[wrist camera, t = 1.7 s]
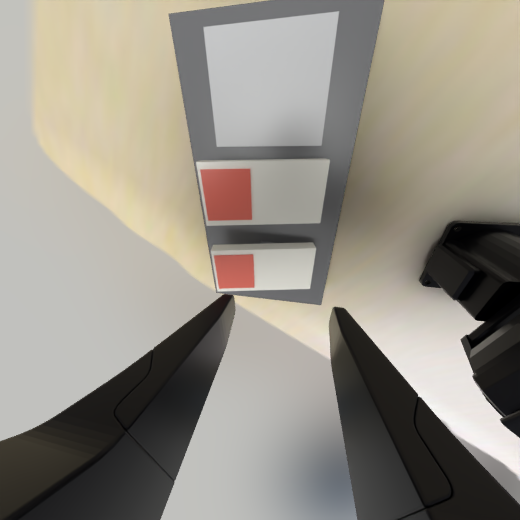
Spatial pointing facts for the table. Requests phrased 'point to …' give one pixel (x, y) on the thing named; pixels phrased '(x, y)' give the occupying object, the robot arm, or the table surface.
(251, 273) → the rocker
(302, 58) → the rocker switch panel
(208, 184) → the rocker
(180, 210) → the table surface
